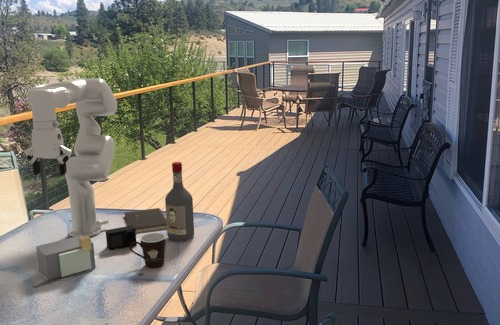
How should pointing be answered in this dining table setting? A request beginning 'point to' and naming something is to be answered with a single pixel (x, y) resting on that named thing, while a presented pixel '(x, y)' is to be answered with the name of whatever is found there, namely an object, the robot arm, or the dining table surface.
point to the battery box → (50, 259)
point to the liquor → (179, 208)
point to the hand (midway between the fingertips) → (50, 174)
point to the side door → (76, 258)
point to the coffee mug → (152, 249)
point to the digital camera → (120, 237)
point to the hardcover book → (146, 220)
